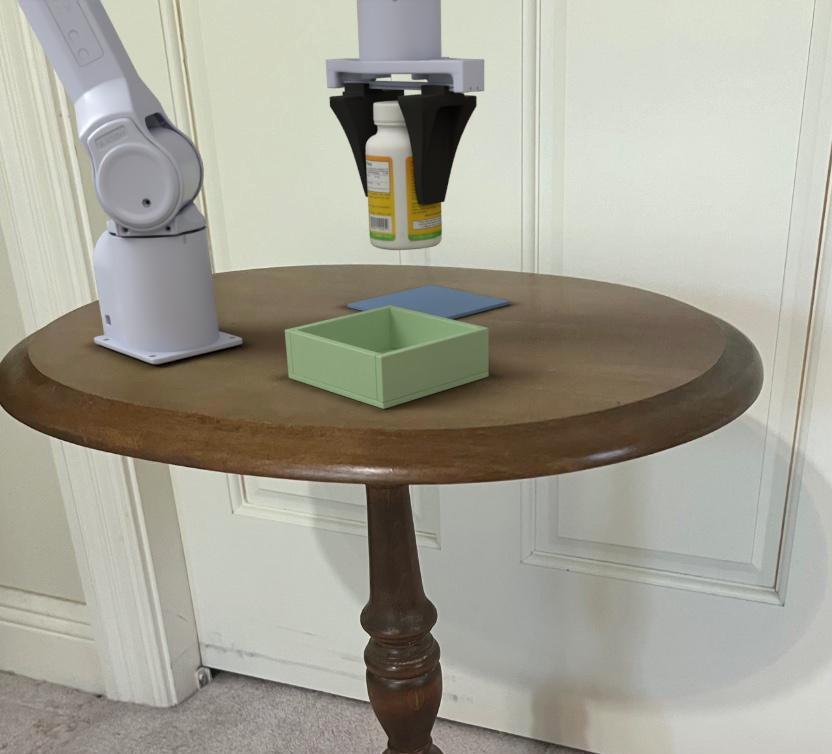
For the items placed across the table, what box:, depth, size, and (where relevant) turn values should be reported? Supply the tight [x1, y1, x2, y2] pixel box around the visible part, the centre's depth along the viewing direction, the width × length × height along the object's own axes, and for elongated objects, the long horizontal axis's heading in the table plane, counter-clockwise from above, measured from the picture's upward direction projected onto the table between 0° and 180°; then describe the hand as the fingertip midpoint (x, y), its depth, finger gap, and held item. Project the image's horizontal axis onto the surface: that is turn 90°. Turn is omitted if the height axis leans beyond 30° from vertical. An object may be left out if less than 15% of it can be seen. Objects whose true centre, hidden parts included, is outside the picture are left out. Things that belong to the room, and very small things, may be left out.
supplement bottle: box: [366, 101, 443, 251], centre depth 79 cm, size 5×5×10 cm
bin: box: [284, 305, 490, 410], centre depth 75 cm, size 10×10×3 cm
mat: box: [347, 284, 510, 320], centre depth 94 cm, size 10×10×1 cm
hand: (404, 199), depth 79 cm, fingers closed on supplement bottle, 5 cm apart
